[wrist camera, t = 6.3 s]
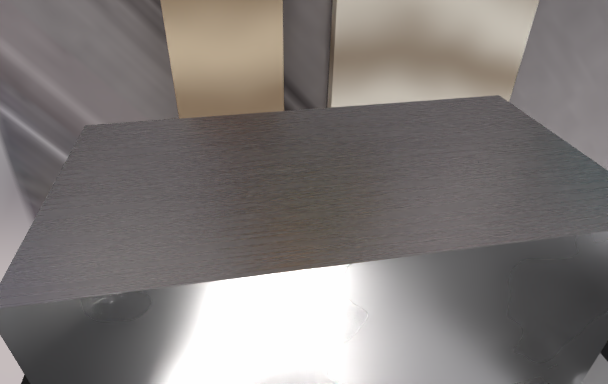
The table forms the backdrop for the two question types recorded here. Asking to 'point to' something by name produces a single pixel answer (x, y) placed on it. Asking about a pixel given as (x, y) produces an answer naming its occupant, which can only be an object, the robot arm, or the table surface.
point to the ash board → (425, 49)
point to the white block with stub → (316, 251)
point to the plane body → (225, 56)
